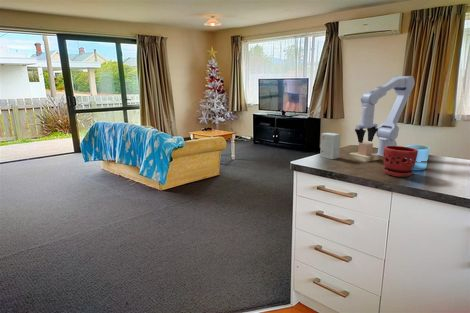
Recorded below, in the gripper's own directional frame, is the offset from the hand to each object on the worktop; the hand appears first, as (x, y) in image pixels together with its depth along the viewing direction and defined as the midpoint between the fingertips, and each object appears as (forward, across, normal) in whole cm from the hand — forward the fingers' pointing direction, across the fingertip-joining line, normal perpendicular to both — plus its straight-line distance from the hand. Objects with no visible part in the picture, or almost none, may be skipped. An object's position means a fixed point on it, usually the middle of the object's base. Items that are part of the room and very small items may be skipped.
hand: (365, 141), depth 164 cm
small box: (+9, +14, -11) cm, 20 cm away
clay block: (+7, 0, 0) cm, 7 cm away
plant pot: (+9, +11, +27) cm, 31 cm away
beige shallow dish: (+10, 0, 0) cm, 10 cm away
